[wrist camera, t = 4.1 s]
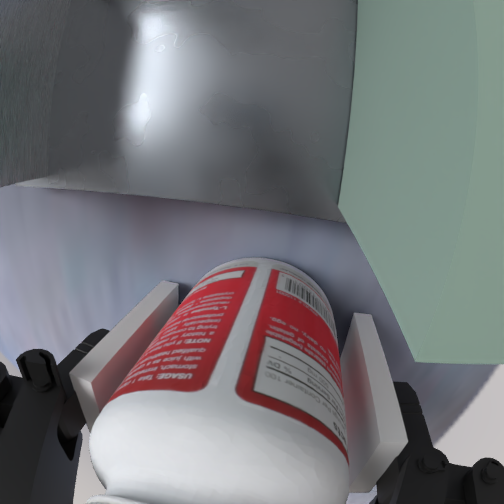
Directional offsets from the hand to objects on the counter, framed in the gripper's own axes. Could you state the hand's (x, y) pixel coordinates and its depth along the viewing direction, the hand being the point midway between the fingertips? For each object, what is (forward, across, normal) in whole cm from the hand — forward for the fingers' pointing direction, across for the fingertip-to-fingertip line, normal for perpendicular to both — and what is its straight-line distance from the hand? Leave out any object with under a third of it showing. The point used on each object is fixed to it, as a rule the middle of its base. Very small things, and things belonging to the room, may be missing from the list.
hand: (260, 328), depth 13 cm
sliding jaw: (-1, +5, +10) cm, 12 cm away
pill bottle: (0, 0, 0) cm, 1 cm away
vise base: (0, -2, +10) cm, 10 cm away
